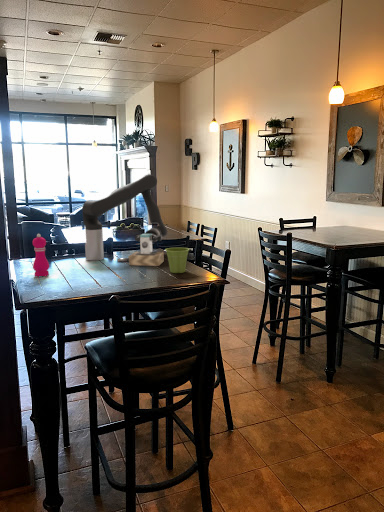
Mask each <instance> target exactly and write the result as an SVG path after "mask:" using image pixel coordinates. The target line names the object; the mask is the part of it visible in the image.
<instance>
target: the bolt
mask: <svg viewBox="0 0 384 512" xmlns="http://www.w3.org/2000/svg"><path fill="white" fill-rule="evenodd" d="M129 256H130V255H128V257H123V258H117V263H129Z"/></svg>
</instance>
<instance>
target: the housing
mask: <svg viewBox="0 0 384 512" xmlns="http://www.w3.org/2000/svg"><path fill="white" fill-rule="evenodd" d="M139 235H140V241H139V242H140V243H139V244H140V245H139V246H140V252H141V254H151V253H152V252H153V243H152V234H145V233H142V234H139Z"/></svg>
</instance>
